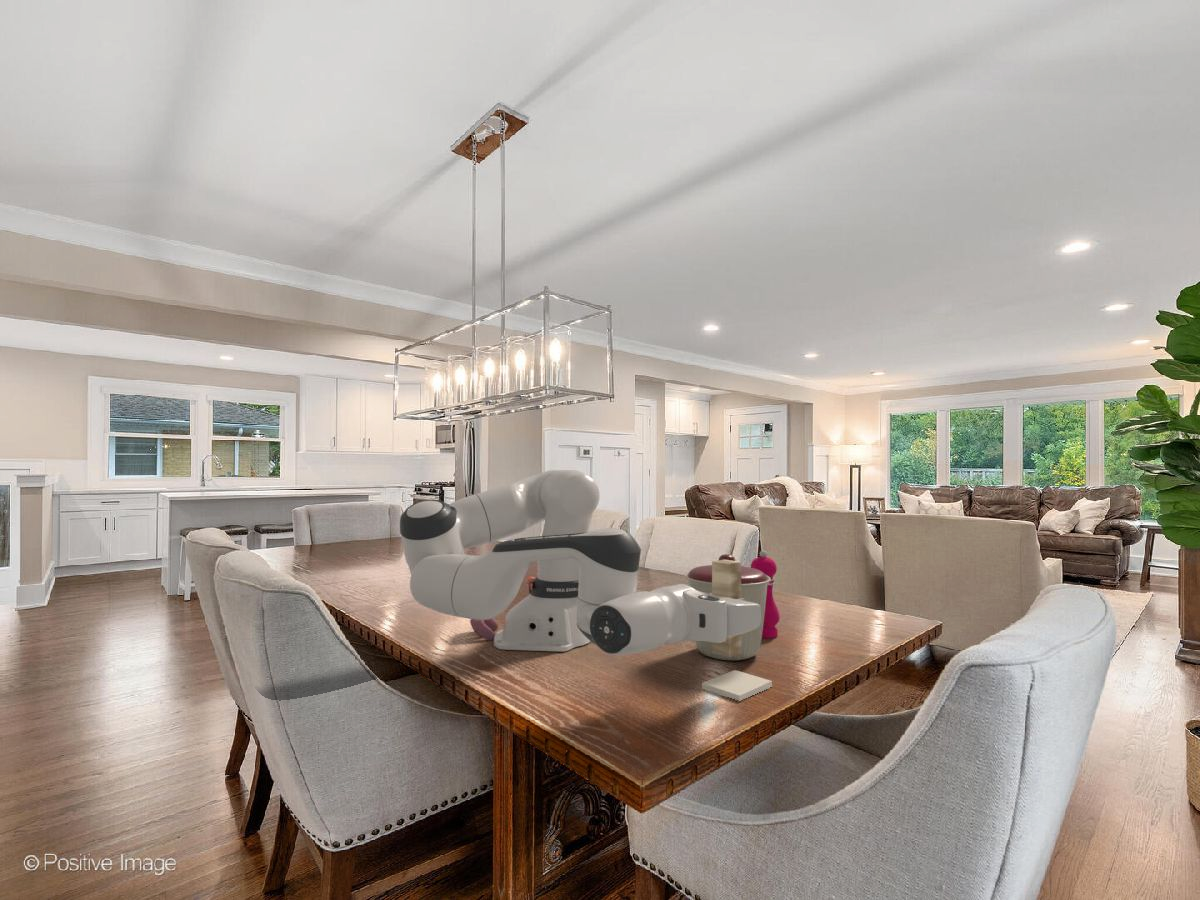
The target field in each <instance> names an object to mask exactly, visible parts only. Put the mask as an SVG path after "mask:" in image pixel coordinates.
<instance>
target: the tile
mask: <svg viewBox="0 0 1200 900" xmlns="http://www.w3.org/2000/svg"><path fill="white" fill-rule="evenodd" d="M701 686H702V687H701V689H702V690H704V689H705V691H708V692H710V691H711V692H710V693H713V692H714V693H713V694H716V693H717V694H716V695H719V694H720V695H719V696H722V695H723V697H724V696H725V697H724V698H727V697H730V698H732V699H731V700H733V699H735V700H734V701H736V700H739V701H741V700H743V699H745V698H747V699H749V698H748V697H750V696H752V695H754V696H756V695H758V694H760V693H759V692H761V693H762V691H763V692H765V691H767V690H769V689H771V688H770V687H772V688H773V681H772V680H770V679H766V678H763V677H759V676H756V675H752V674H750V673H746V672H743V671H739V670H738V669H737V670H736V669H734V670H731V671H729V672H727V673H724V674H721V675H718V676H716V677H714V678H711V679H709V680H707V681H703V682H702V683H701ZM766 689H767V690H766ZM764 690H765V691H764ZM757 693H758V694H757ZM755 694H756V695H755ZM752 697H753V696H752ZM730 698H729V699H730ZM750 698H751V697H750ZM745 700H746V699H745ZM739 701H738V702H739ZM743 701H744V700H743ZM741 702H742V701H741Z"/></svg>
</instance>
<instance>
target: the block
mask: <svg viewBox="0 0 1200 900" xmlns="http://www.w3.org/2000/svg"><path fill="white" fill-rule="evenodd" d="M711 565H712V594H713V595H718V596H723V597H728V598H736V597H738V598H741V566H742V562H741V561H736V560H735V561H731V560H719V559H718V560H713V561H711ZM712 652H714V653H717V654H721V655H724V656H727V657H730V656H733V655H736V654H739V653H741V634H740V635H737V636H727V637H726V641H725V642H722V643H712Z"/></svg>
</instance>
